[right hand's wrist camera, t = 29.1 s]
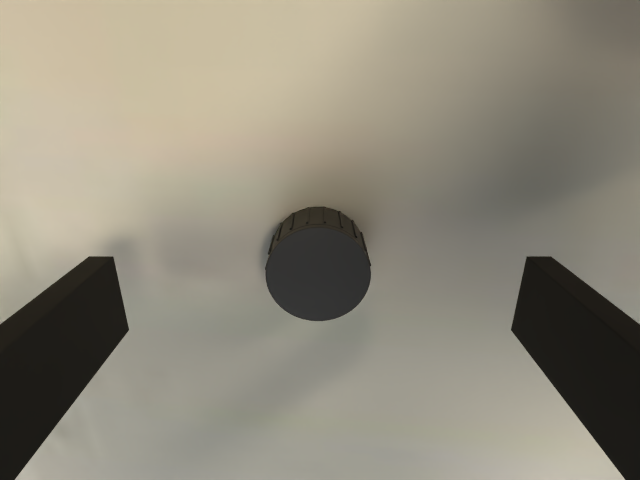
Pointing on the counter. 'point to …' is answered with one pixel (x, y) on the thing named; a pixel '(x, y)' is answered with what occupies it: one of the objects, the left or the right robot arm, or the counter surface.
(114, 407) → the counter surface
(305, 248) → the cap
